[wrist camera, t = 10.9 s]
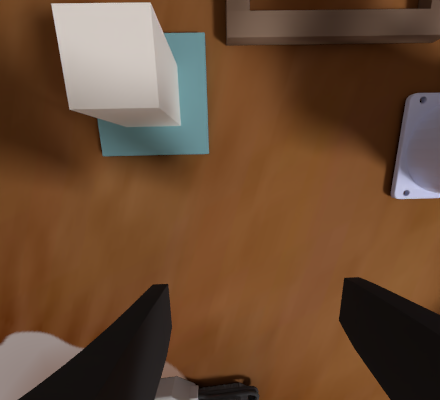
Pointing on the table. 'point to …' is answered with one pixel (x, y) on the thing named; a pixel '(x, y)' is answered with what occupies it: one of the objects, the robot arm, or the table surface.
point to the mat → (189, 110)
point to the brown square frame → (331, 25)
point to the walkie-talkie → (203, 391)
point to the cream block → (117, 63)
